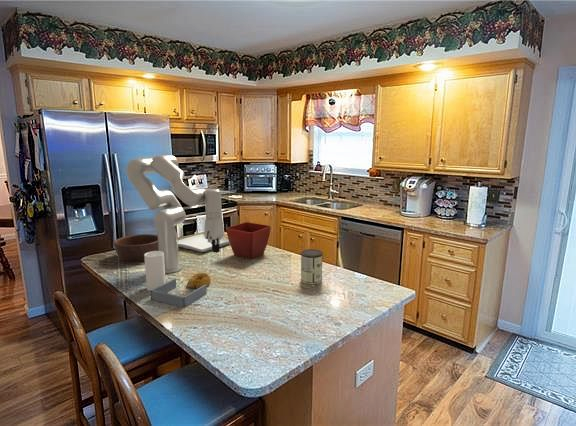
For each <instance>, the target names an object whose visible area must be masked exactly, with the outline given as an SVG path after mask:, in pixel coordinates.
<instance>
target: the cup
mask: <svg viewBox="0 0 576 426" xmlns="http://www.w3.org/2000/svg"><path fill="white" fill-rule="evenodd" d="M144 258H145V261H144V270H145V284H146V290H147V291H149V292H150V290H152V289H154V288H156V287H158V286H160V285H162V284H164V283H167V282H166V273H165V264H164V253H163V252H161V251H152V252H148V253H145V254H144Z"/></svg>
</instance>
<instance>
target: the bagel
mask: <svg viewBox="0 0 576 426" xmlns="http://www.w3.org/2000/svg"><path fill="white" fill-rule="evenodd" d="M211 281H212V279H211V277H210V275H208V273H205V272H198V273H195V274H193V275H192V276H191V277H190V279H188V280H187V284H186V286H187V288H190V289H195V288H196V289H198V288H200V287H202V286H203V285H206V288H207V287H208V286H209V285H211Z"/></svg>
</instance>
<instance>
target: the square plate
mask: <svg viewBox="0 0 576 426" xmlns="http://www.w3.org/2000/svg"><path fill="white" fill-rule="evenodd" d="M177 240H178V239H177ZM226 245H230V243H229V239H228V238H225V237H222V238H221V239H220V244H219V248H221V247H224V246H226ZM178 248H183V249H187V250H192V251H194V252H199V253H204V252H208V251H212V244H211V243H209V242H208V239H205V233H200V234H196V235H193V236H188V237H185V238H182V239H179V240H178Z"/></svg>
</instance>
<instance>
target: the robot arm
mask: <svg viewBox="0 0 576 426" xmlns="http://www.w3.org/2000/svg"><path fill="white" fill-rule="evenodd" d="M125 172H126V177H127V179H128V181H129V182H130V184H131V185H132V186H133V187H134V188H135V190H136V191H137V193H138V195H139V196H140V197H141V199H142V201H144V203H145V205H146V206H147V207H148V209H150V210H151V211H157V213H156V214H155V215H154V219H153V220H154V226H155V229H156V234H157V236H158V249H159V251H161V252H163V253H164V264H165V274H172V273H177V272H179V271H181V270H182V269H183V265H182V264H180V263H179V246H178V234H177V231H176V229H175V226H178V225H181V224H183V222H184V221H185V220H186V217H187V216H186V214H187V213H186V212H185V210H184V208H183V207H182V205H181V203H180V202H179V200H180V201H182V202H183V203H184V204H185V205H187V206H190V207H196V206H198V205H203V204H204V206H205V220H204V221H205V222H204V234H205V239H208V242H209V243H211V244H212V250H211V252H212V253H216V254H217V253H220V252H221V251H220V250H221V249H220V248H221V247H219V244H220V239H221V238H224V237H223V236H224V234H225V230H224V228H225V227H224V220H223V210H222V192H221V190H220V189H217V188H205V187H200V188H194V189H193V188H192V189H191V188H190V187H188V186H187V185H186V184H185V182H183V179H184V178H185V172H184V171H183V170H182V169H181V168H179V161H178V159H177V158H176V156H174V155H172V154H158V155H155V156H151V157H150V156H149V157H148V156H147V157H137V158H136V157H135V158H132V159H131V160H129V161H128V162H127V164H126V168H125ZM151 174H158V175H159V176H160V177H161V178H162V179H164V180H165V181H166V182H168V183H169V184H170V185H171V189H172V191H173V192H171V190H169V189H158V188H157V186H155V184H154V182H153V181H152V180H151V179H150V178H148V177H147V176H146V175H151ZM177 198H178V199H179V200H178V199H177ZM158 210H159V211H158Z"/></svg>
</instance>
